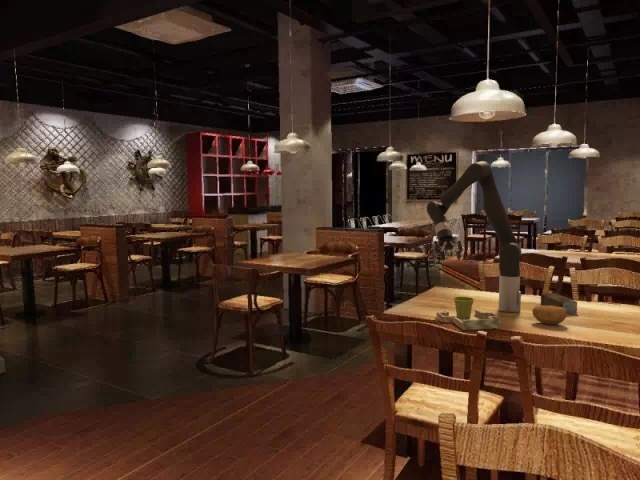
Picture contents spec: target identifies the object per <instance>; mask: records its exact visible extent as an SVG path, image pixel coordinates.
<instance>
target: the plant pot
mask: <svg viewBox="0 0 640 480" xmlns="http://www.w3.org/2000/svg"><path fill="white" fill-rule="evenodd" d="M452 300H454V301H453V302H454V305H455V312H456V317H457V318H459V319H468V318H471V315H472V314H471V313H472V308H473V304H474V301H475V298H473V297H469V296H455V297H453V299H452Z"/></svg>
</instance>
